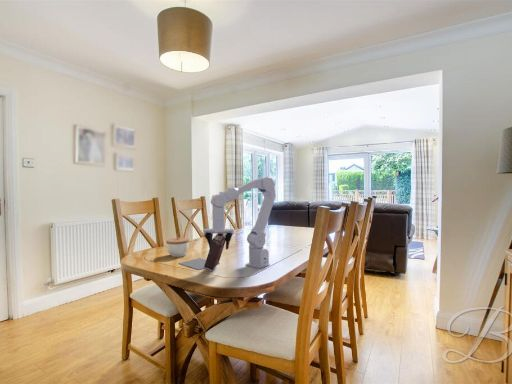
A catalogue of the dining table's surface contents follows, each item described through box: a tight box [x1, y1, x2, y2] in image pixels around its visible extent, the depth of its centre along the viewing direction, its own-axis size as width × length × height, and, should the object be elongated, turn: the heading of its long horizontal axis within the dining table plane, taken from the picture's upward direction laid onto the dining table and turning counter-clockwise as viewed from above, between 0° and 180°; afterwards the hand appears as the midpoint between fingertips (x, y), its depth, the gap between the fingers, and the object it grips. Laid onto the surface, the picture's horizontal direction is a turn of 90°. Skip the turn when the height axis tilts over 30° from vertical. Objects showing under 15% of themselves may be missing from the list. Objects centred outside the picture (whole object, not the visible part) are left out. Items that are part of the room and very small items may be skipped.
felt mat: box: [178, 257, 220, 271], centre depth 137 cm, size 17×13×1 cm
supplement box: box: [204, 234, 226, 272], centre depth 126 cm, size 9×5×16 cm, turn 168°
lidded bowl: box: [166, 236, 190, 258], centre depth 155 cm, size 13×13×11 cm
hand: (219, 248), depth 127 cm, fingers open, 7 cm apart
